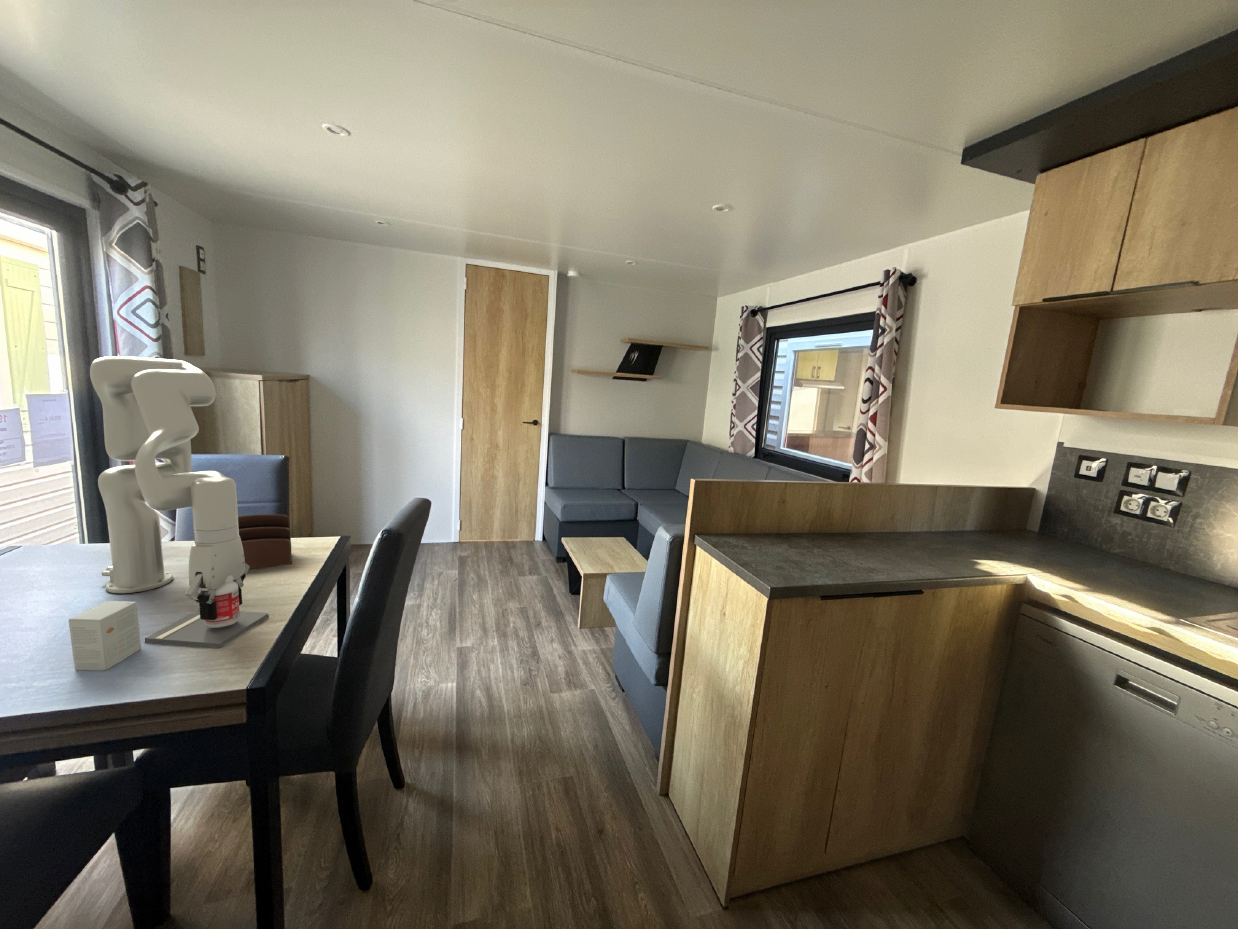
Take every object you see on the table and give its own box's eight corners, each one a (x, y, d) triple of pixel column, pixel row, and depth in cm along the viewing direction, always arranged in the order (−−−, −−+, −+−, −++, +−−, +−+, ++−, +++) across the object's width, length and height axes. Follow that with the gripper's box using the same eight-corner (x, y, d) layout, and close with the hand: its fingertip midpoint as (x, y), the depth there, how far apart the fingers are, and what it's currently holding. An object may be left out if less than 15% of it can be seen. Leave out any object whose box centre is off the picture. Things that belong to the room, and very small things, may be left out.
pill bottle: (239, 625, 109) (236, 578, 107) (203, 631, 106) (199, 582, 104) (241, 613, 114) (238, 568, 112) (207, 619, 111) (203, 572, 109)
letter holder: (210, 563, 145) (207, 517, 143) (291, 554, 157) (289, 511, 154) (207, 575, 137) (203, 527, 135) (292, 564, 149) (290, 519, 146)
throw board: (144, 642, 103) (144, 637, 103) (202, 612, 117) (201, 607, 117) (219, 648, 103) (219, 642, 103) (268, 617, 117) (268, 612, 117)
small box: (112, 648, 100) (107, 600, 99) (142, 649, 101) (137, 600, 99) (73, 671, 93) (66, 618, 91) (105, 671, 93) (100, 619, 91)
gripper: (231, 521, 115) (236, 594, 118) (162, 545, 98) (169, 629, 101) (263, 524, 115) (267, 596, 118) (199, 548, 98) (205, 632, 101)
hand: (222, 611), depth 109 cm, fingers closed on pill bottle, 6 cm apart
